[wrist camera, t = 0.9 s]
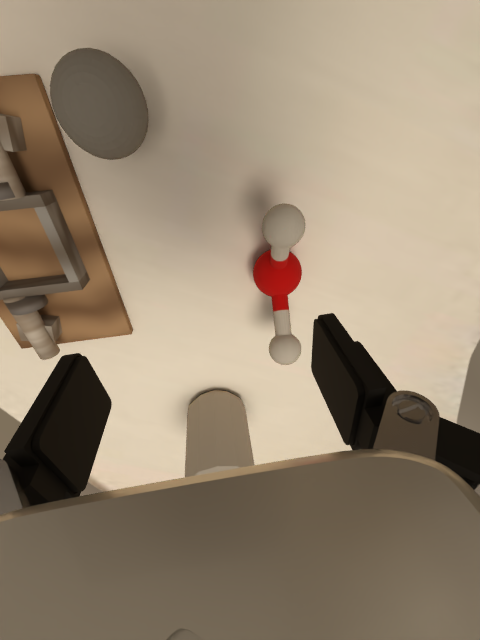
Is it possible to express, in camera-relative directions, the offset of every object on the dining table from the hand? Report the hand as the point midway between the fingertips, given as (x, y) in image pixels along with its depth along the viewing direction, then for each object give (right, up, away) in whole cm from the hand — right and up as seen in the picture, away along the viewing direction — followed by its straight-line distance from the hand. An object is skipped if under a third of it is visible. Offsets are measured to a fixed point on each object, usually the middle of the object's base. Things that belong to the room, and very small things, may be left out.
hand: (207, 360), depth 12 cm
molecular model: (+5, +9, +23) cm, 25 cm away
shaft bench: (-21, +10, +18) cm, 30 cm away
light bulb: (-9, +20, +14) cm, 26 cm away
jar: (-3, -13, +37) cm, 39 cm away
